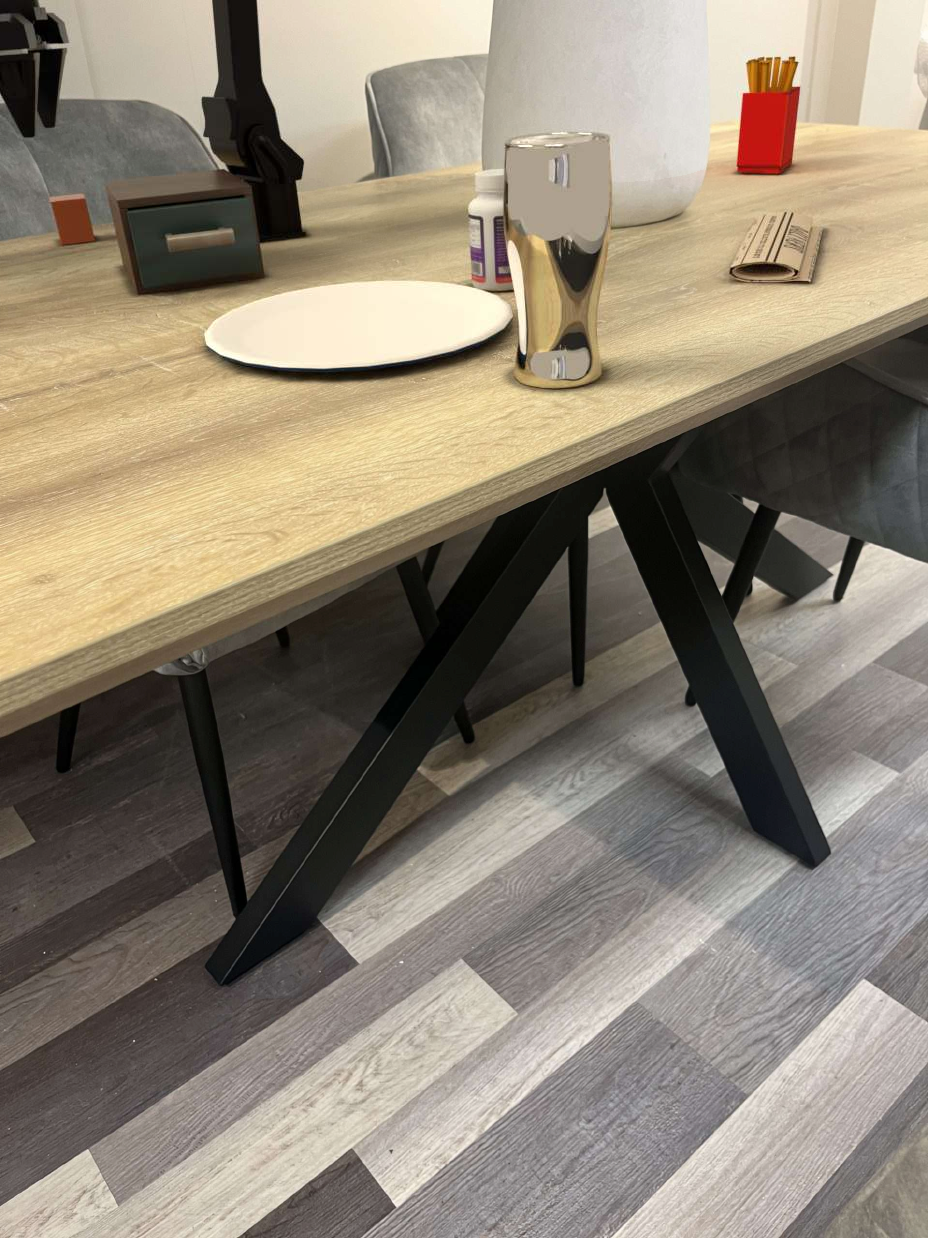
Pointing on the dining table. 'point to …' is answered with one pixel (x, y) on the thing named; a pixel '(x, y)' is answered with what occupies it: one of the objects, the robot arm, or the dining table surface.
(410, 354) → the plate
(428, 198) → the dining table surface
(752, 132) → the french fries container
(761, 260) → the newspaper
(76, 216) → the block
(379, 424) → the dining table surface
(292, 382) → the dining table surface
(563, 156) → the beer glass
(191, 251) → the drawer
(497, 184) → the pill bottle
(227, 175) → the cabinet
